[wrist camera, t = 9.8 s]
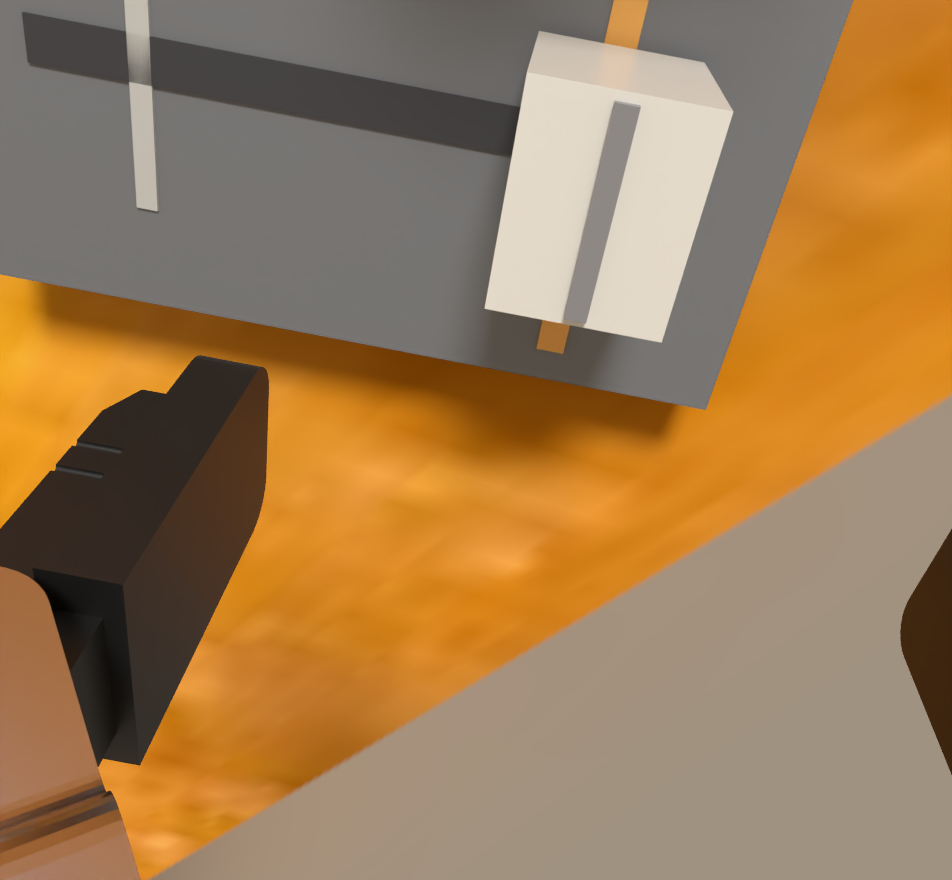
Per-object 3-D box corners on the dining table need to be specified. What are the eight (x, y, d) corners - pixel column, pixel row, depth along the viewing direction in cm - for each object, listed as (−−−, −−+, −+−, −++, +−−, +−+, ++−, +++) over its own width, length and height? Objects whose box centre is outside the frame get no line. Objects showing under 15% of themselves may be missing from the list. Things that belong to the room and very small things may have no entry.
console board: (42, 237, 29) (-11, 273, 26) (-26, -308, 21) (-110, -332, 19) (695, 363, 29) (706, 411, 26) (866, -138, 21) (904, -138, 19)
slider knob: (502, 230, 24) (483, 312, 19) (539, 30, 21) (525, 74, 17) (648, 258, 24) (662, 346, 19) (704, 62, 21) (734, 113, 17)
